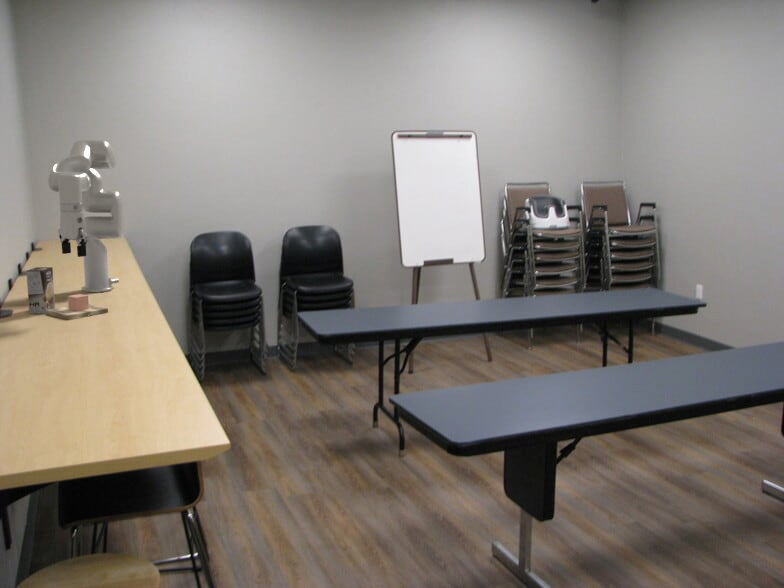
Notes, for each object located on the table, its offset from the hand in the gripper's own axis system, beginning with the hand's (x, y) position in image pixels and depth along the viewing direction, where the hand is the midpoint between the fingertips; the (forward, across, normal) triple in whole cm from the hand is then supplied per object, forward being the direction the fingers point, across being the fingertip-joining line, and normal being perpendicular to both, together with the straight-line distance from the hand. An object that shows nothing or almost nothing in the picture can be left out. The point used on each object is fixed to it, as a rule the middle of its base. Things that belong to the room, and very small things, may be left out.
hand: (74, 254), depth 270 cm
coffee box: (+22, +12, +7) cm, 26 cm away
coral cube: (+20, 0, 0) cm, 20 cm away
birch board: (+22, 0, 0) cm, 22 cm away
